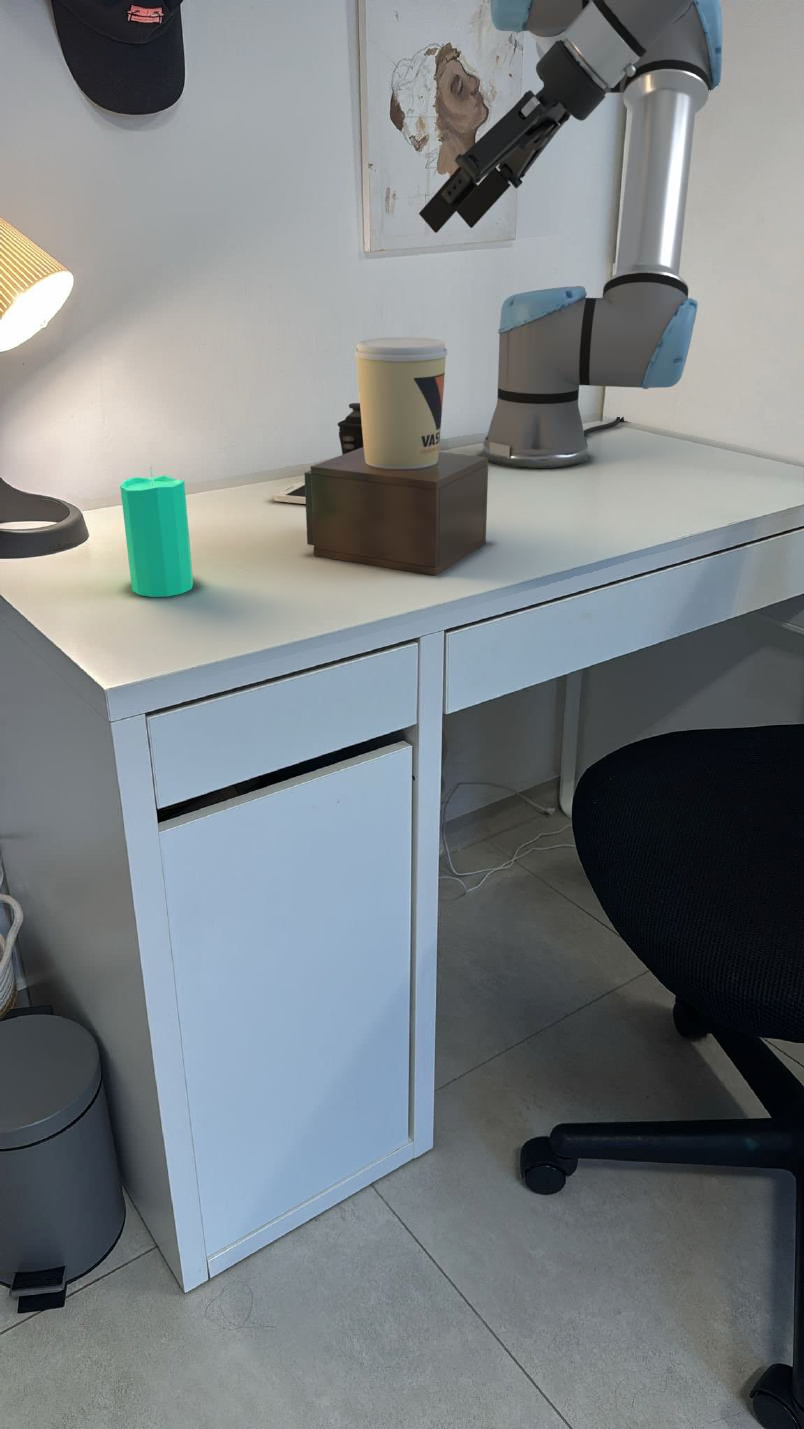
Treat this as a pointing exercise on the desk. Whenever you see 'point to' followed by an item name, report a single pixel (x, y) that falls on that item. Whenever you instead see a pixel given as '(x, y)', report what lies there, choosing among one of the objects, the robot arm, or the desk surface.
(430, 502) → the cabinet
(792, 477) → the desk surface
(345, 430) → the controller
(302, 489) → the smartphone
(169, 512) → the candle
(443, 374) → the coffee cup
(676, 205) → the robot arm
